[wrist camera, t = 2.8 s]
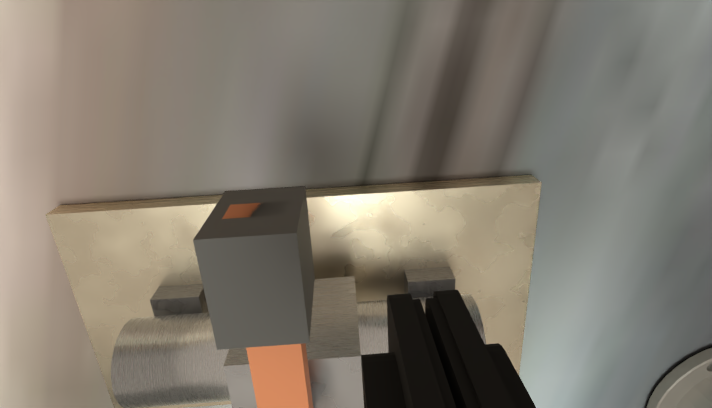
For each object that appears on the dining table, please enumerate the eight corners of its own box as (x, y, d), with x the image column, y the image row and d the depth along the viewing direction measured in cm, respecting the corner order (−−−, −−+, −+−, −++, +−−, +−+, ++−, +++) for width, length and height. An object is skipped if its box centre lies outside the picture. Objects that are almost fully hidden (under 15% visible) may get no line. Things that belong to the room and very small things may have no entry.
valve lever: (334, 443, 21) (333, 529, 18) (269, 448, 21) (255, 536, 18) (307, 186, 16) (300, 232, 13) (222, 191, 16) (189, 240, 13)
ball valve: (531, 174, 28) (655, 268, 17) (510, 367, 34) (592, 527, 23) (60, 205, 27) (-121, 322, 16) (125, 396, 33) (24, 574, 23)
